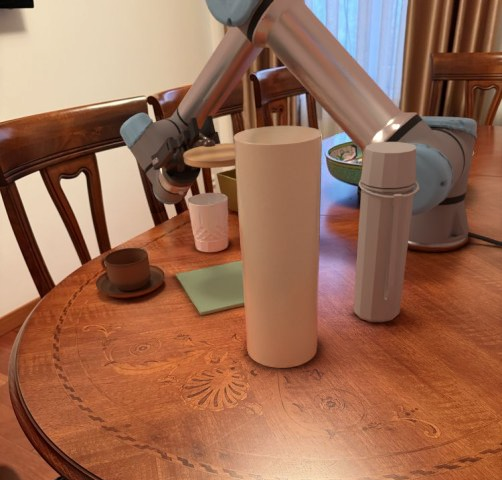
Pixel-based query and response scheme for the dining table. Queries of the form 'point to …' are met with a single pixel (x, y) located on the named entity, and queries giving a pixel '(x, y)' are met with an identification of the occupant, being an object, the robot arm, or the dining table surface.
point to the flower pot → (229, 187)
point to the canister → (280, 240)
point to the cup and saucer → (128, 274)
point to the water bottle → (384, 228)
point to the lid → (210, 154)
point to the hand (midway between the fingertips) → (203, 125)
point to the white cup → (209, 221)
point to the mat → (214, 287)
